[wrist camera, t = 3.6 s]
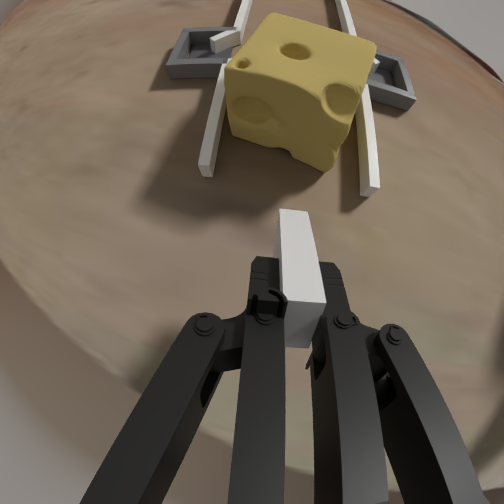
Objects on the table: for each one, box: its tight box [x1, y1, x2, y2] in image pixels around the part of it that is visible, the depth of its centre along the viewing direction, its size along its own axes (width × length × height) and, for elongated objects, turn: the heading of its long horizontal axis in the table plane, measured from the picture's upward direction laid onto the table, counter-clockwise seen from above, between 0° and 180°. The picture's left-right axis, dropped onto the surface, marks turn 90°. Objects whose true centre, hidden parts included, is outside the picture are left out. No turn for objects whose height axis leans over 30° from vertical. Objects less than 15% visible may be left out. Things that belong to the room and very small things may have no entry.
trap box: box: [166, 0, 416, 197], centre depth 27 cm, size 29×43×2 cm
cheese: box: [224, 12, 377, 172], centre depth 21 cm, size 10×11×10 cm
